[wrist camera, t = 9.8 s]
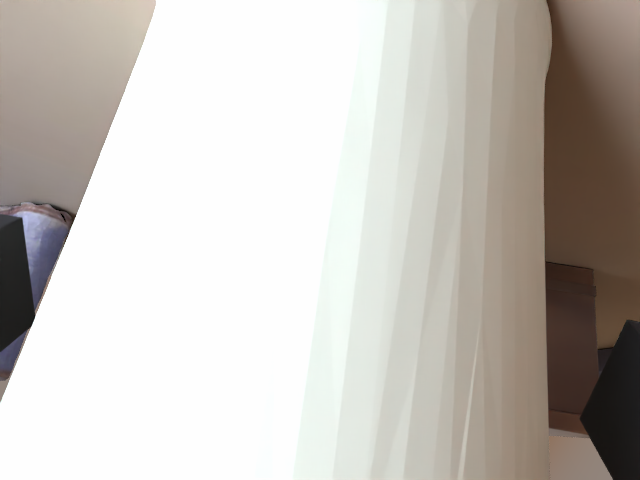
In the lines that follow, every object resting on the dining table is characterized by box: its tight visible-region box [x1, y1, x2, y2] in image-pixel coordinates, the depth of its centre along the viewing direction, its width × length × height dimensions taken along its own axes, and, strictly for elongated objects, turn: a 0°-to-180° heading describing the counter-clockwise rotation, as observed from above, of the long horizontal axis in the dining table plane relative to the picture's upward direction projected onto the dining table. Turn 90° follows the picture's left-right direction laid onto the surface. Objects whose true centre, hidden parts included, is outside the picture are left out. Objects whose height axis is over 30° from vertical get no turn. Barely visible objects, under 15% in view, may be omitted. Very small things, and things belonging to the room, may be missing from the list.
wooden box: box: [545, 262, 599, 438], centre depth 26 cm, size 17×15×7 cm
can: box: [0, 0, 552, 480], centre depth 9 cm, size 9×9×12 cm
